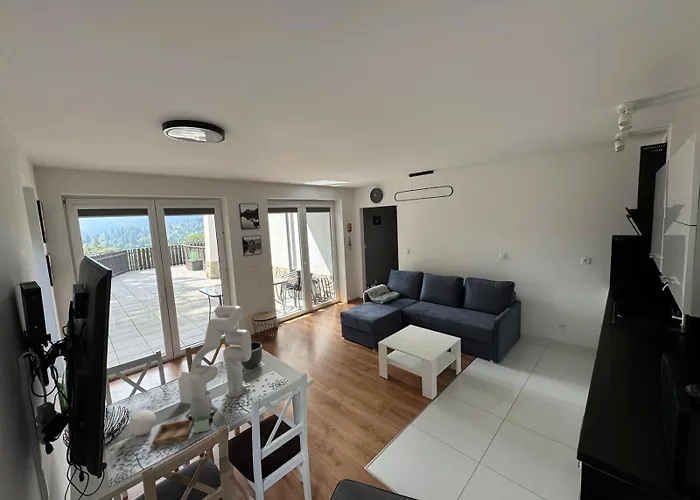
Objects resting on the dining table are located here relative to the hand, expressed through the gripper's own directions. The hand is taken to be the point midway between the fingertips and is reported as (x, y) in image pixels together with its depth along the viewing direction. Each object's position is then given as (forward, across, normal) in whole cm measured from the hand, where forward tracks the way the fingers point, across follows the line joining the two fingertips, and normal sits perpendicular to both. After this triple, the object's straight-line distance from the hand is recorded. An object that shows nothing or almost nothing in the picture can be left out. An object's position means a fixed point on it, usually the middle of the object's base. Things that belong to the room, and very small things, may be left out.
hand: (203, 424), depth 158 cm
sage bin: (+1, 0, 0) cm, 1 cm away
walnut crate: (+2, +14, 0) cm, 14 cm away
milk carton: (+3, +14, -30) cm, 34 cm away
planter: (+4, -22, -60) cm, 64 cm away
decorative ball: (+2, +31, -7) cm, 32 cm away
